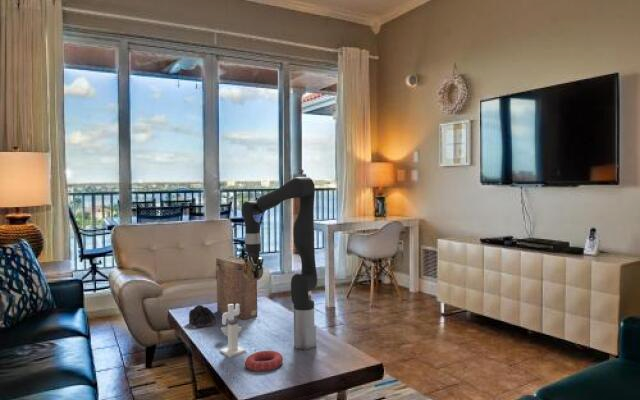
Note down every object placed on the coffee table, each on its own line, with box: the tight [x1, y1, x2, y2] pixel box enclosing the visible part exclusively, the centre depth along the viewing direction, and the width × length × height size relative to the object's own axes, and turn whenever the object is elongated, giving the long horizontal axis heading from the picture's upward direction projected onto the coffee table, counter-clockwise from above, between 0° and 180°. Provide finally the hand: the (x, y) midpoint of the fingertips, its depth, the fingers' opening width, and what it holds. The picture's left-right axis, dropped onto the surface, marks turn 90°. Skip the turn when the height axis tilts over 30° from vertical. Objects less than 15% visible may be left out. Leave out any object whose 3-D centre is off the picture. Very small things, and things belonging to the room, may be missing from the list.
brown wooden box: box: [215, 256, 258, 321], centre depth 258 cm, size 25×9×30 cm, turn 45°
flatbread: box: [243, 261, 264, 282], centre depth 225 cm, size 10×4×10 cm, turn 129°
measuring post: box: [219, 318, 247, 358], centre depth 202 cm, size 8×8×14 cm
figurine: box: [220, 304, 243, 337], centre depth 223 cm, size 7×9×15 cm
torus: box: [244, 350, 284, 372], centre depth 189 cm, size 16×14×4 cm
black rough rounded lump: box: [188, 304, 216, 329], centre depth 241 cm, size 14×14×10 cm
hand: (253, 277), depth 225 cm, fingers closed on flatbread, 3 cm apart
